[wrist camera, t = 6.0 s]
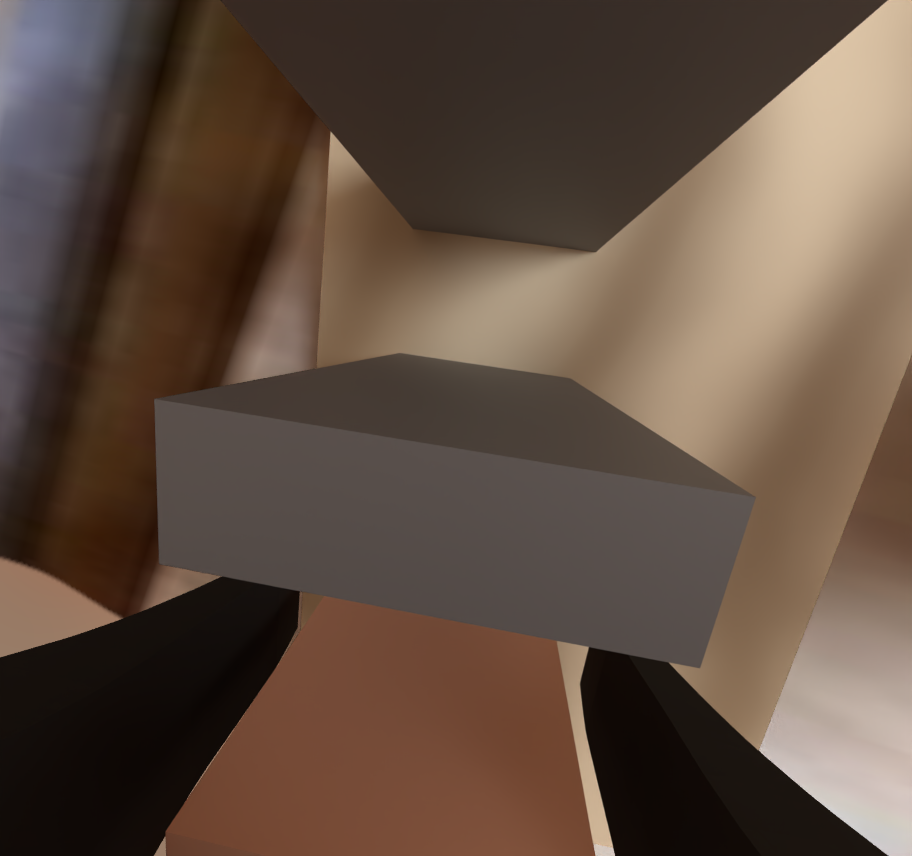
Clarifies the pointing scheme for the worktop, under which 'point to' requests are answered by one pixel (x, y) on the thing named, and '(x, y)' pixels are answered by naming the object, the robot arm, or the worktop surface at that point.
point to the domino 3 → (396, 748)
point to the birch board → (695, 333)
